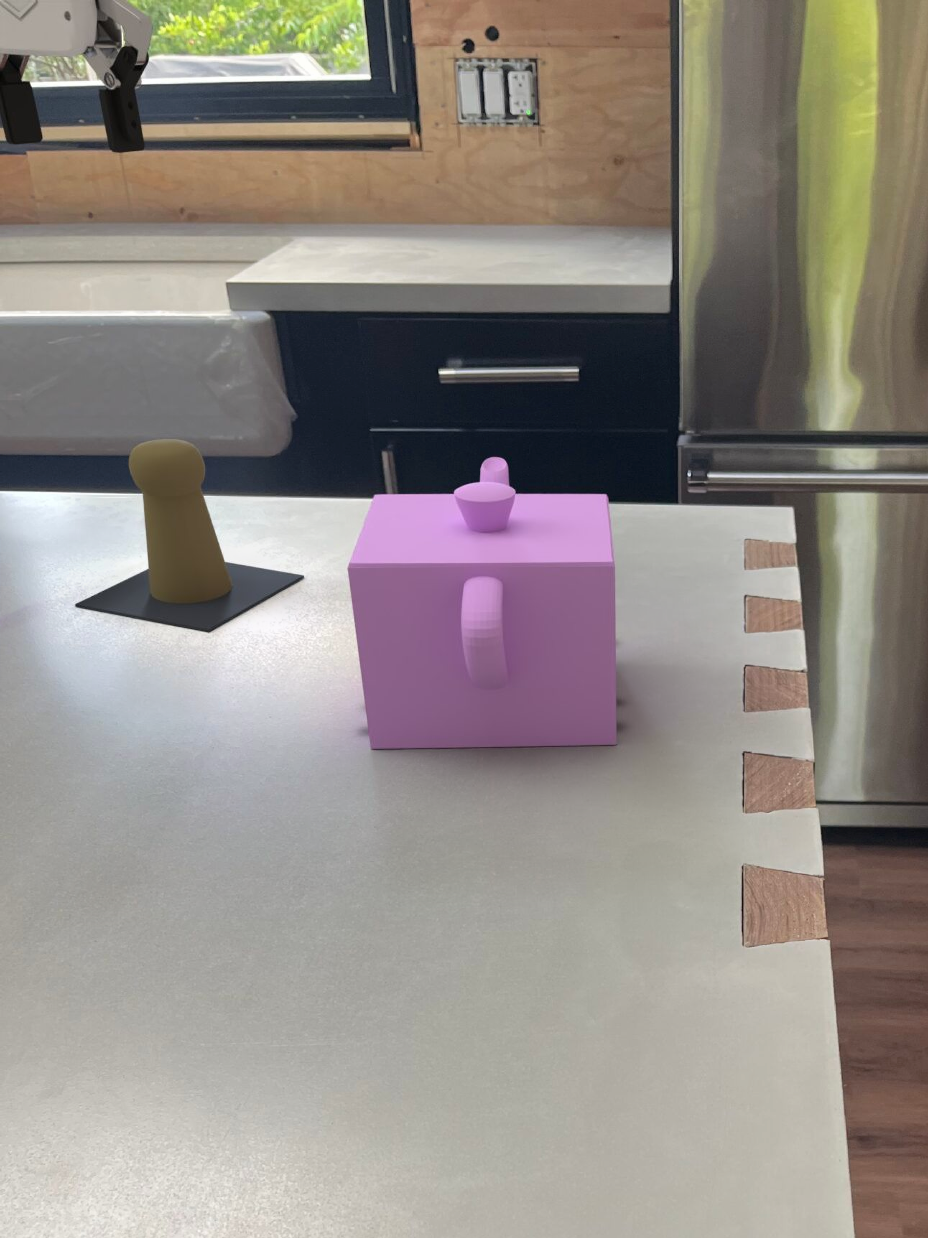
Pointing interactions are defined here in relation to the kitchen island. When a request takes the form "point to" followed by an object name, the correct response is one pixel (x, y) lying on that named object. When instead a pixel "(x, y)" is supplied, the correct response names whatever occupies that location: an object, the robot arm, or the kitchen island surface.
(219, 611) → the mat
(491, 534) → the teapot
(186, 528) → the cork
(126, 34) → the robot arm
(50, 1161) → the kitchen island surface
